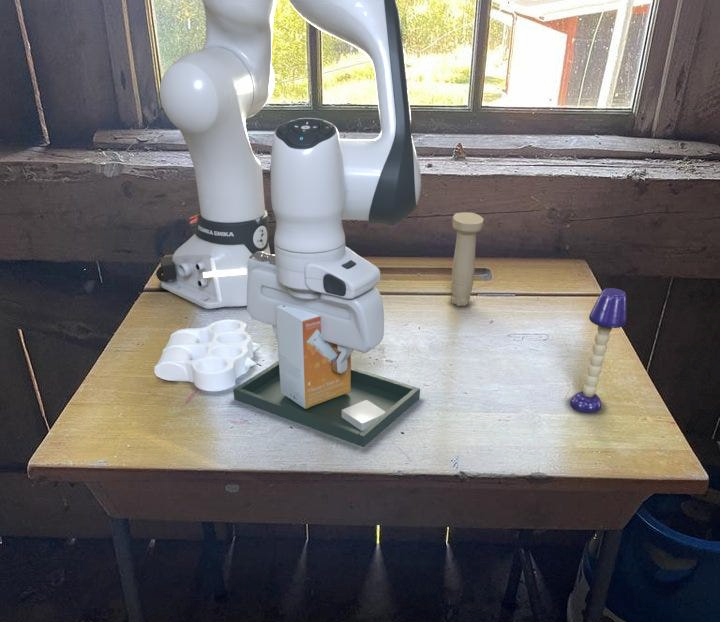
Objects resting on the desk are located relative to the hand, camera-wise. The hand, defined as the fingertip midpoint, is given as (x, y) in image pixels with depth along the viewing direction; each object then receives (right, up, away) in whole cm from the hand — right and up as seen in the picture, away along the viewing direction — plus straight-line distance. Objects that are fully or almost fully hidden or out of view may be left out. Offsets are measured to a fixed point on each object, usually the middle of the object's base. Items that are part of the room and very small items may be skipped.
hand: (314, 362), depth 100 cm
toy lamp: (+38, -6, +2) cm, 39 cm away
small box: (0, -4, +3) cm, 5 cm away
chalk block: (+7, -8, -2) cm, 11 cm away
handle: (+24, +15, +30) cm, 42 cm away
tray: (+2, -5, +2) cm, 6 cm away
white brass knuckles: (-16, +1, +11) cm, 20 cm away
